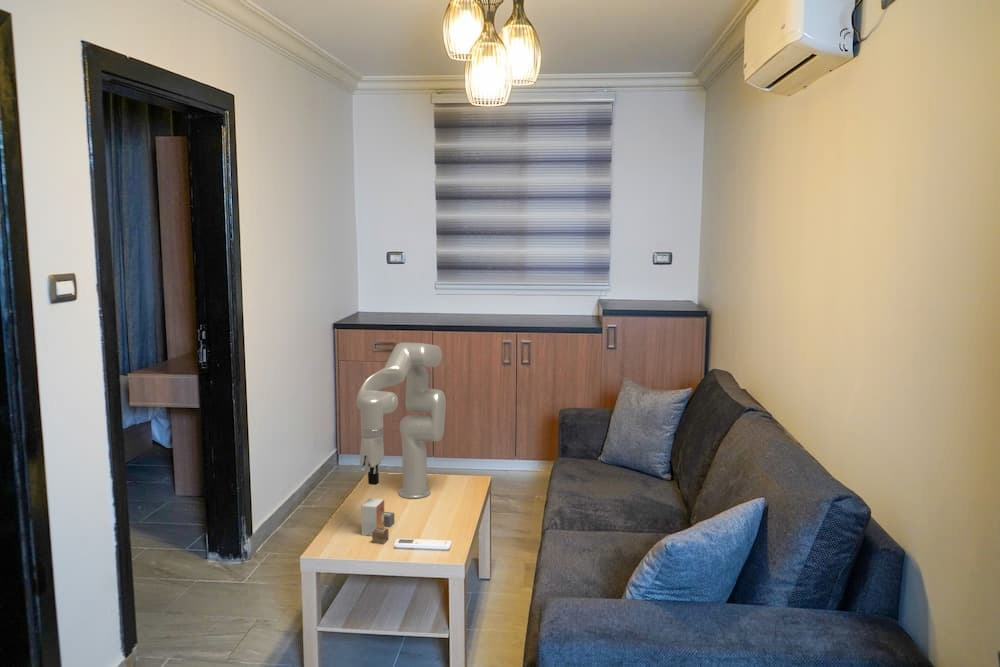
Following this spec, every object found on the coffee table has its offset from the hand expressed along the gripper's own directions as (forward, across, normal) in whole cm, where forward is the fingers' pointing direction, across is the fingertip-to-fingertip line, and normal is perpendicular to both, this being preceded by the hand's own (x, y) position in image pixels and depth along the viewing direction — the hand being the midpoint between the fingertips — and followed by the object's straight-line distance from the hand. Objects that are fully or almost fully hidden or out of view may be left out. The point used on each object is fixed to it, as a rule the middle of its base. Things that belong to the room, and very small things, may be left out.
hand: (373, 483), depth 257 cm
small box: (+17, +1, 0) cm, 17 cm away
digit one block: (+17, -6, +2) cm, 18 cm away
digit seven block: (+17, +8, +6) cm, 20 cm away
